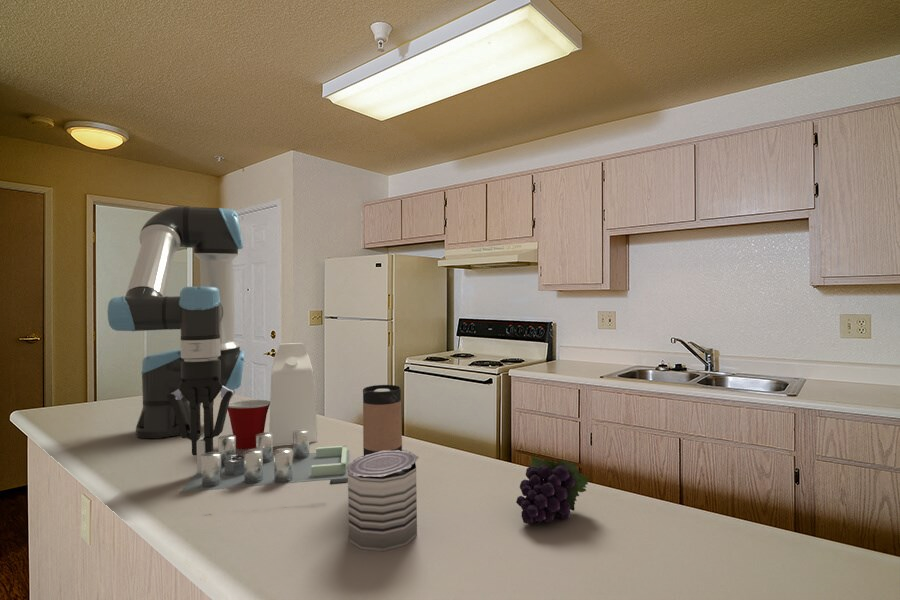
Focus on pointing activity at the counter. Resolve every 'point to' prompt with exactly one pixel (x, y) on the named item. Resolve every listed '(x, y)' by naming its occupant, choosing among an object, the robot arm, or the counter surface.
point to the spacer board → (299, 474)
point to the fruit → (550, 490)
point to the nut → (234, 465)
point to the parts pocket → (330, 468)
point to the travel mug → (382, 419)
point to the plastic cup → (247, 421)
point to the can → (382, 500)
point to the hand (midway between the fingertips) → (203, 469)
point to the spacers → (255, 458)
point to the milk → (292, 394)
